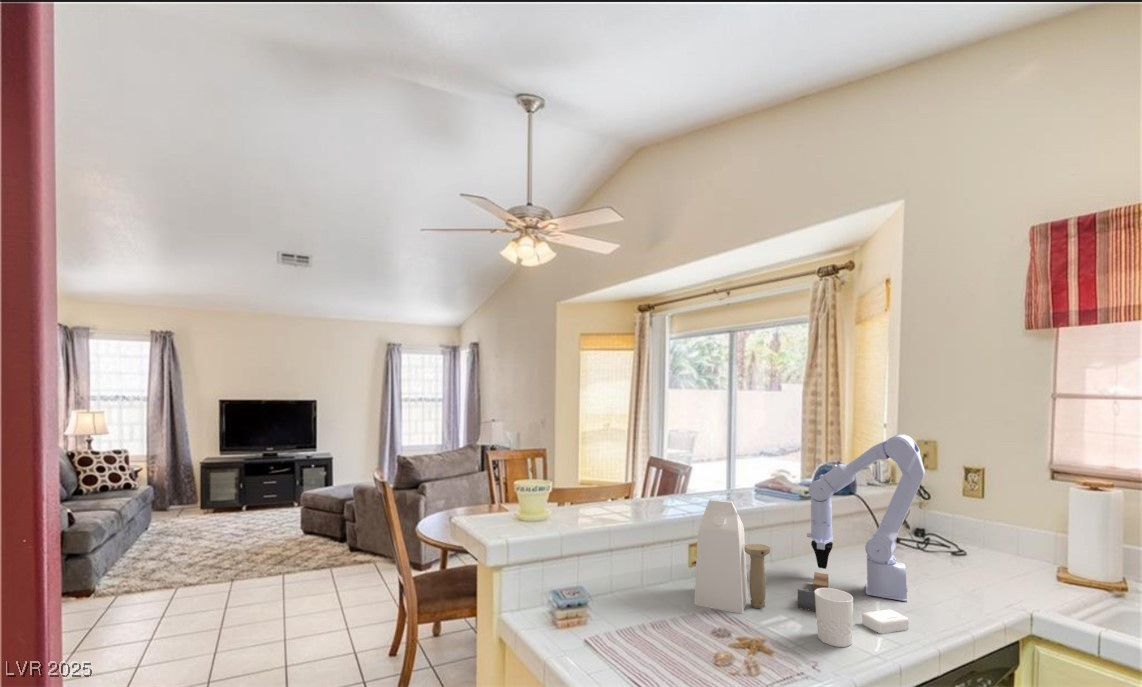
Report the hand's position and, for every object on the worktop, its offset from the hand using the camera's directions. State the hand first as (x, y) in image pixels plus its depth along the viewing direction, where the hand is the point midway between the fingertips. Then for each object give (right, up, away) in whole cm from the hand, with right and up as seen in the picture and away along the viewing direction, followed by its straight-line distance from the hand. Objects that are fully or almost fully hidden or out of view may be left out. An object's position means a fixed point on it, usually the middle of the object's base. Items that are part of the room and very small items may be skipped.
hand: (822, 567), depth 155 cm
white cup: (-15, -1, -36) cm, 39 cm away
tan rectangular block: (-5, -3, -9) cm, 11 cm away
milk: (-34, -2, -16) cm, 38 cm away
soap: (+1, -2, -30) cm, 30 cm away
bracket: (-10, -2, -19) cm, 21 cm away
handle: (-26, -2, -19) cm, 32 cm away
